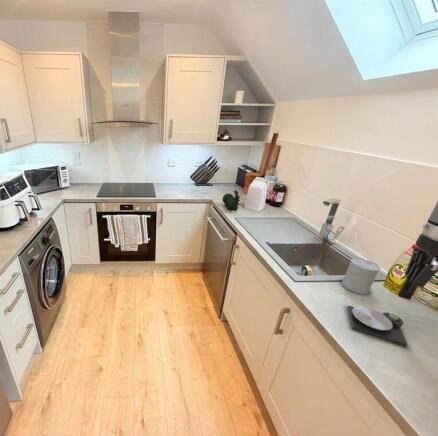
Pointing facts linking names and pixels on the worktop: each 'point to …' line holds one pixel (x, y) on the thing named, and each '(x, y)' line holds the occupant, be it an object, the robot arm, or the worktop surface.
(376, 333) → the scale
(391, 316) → the tare button
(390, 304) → the worktop surface
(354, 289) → the silver metal canister
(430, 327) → the worktop surface
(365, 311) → the pan
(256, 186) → the milk
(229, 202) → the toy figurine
